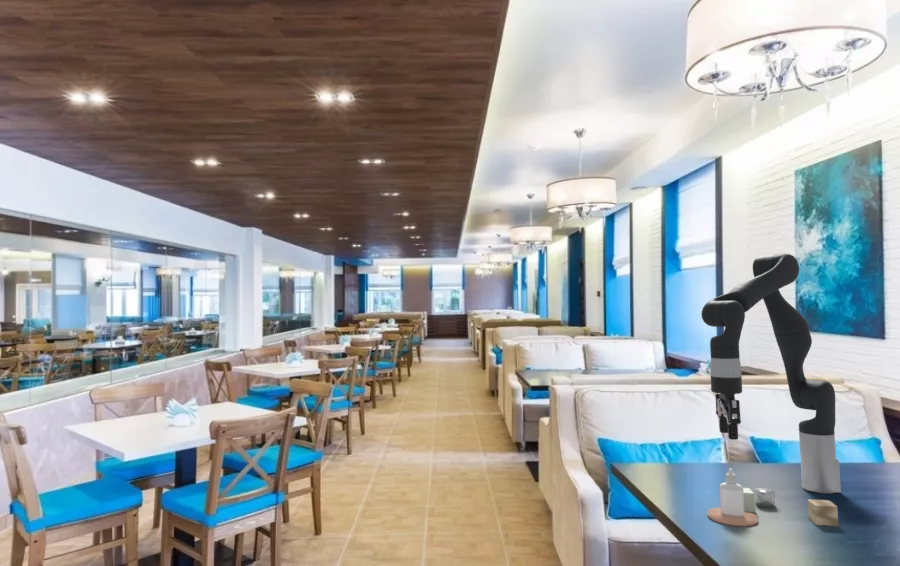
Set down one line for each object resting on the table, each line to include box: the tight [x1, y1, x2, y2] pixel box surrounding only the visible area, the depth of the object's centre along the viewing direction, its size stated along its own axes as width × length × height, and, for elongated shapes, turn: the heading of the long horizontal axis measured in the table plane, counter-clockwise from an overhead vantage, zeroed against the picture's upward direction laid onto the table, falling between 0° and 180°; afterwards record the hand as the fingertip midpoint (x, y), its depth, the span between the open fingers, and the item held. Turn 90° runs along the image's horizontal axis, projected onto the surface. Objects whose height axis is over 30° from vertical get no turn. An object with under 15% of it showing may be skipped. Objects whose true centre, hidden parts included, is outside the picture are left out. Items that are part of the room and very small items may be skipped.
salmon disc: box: [706, 507, 759, 528], centre depth 148 cm, size 12×12×1 cm
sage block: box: [743, 487, 756, 513], centre depth 156 cm, size 5×5×5 cm
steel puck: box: [753, 487, 776, 509], centre depth 158 cm, size 5×5×4 cm
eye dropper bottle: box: [719, 468, 745, 517], centre depth 148 cm, size 4×6×12 cm
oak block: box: [807, 498, 839, 527], centre depth 144 cm, size 5×5×5 cm
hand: (728, 435), depth 149 cm, fingers open, 8 cm apart
